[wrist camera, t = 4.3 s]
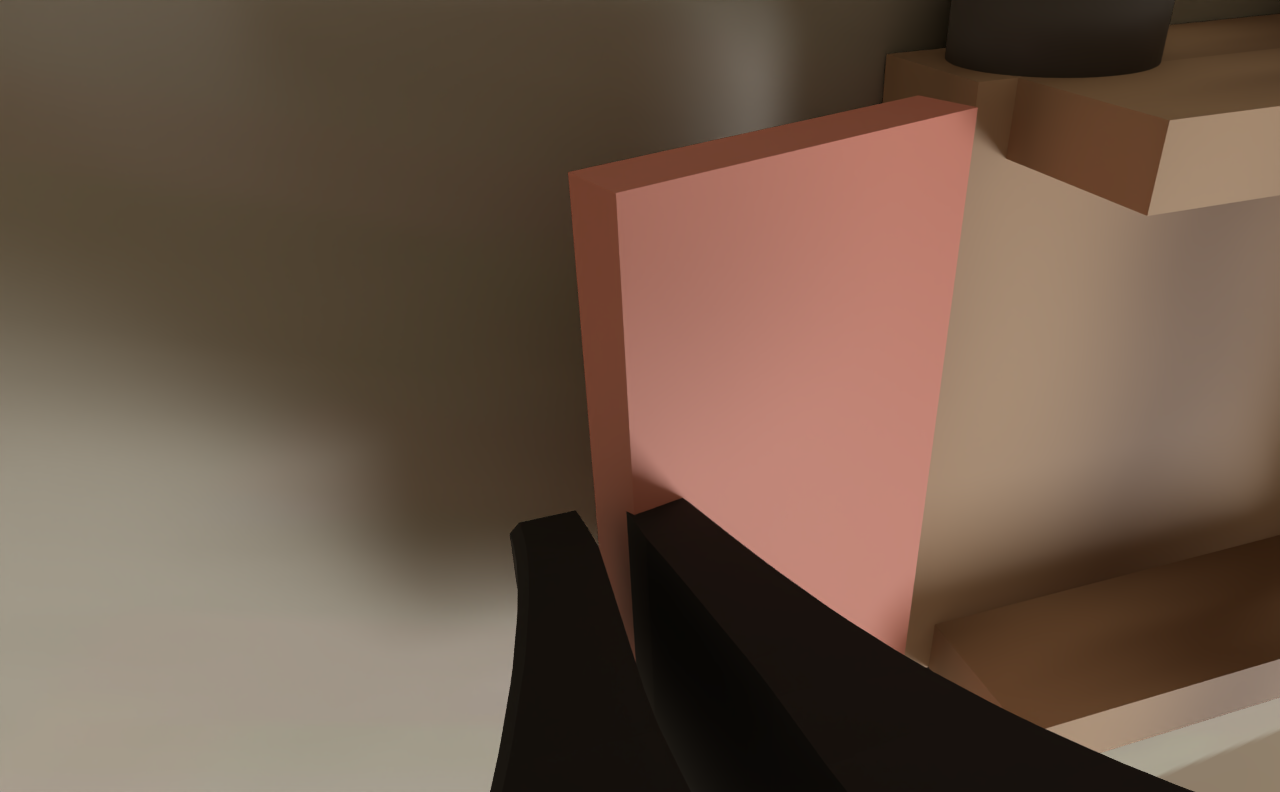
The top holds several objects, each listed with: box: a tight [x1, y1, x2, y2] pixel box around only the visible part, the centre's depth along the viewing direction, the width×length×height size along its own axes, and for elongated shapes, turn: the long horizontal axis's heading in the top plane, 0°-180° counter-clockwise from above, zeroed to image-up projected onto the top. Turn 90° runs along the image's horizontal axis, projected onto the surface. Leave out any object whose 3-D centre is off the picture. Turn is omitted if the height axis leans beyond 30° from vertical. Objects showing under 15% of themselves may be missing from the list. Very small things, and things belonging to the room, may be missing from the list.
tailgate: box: [568, 95, 978, 662], centre depth 11 cm, size 1×9×4 cm
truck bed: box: [883, 0, 1280, 753], centre depth 13 cm, size 9×11×4 cm
